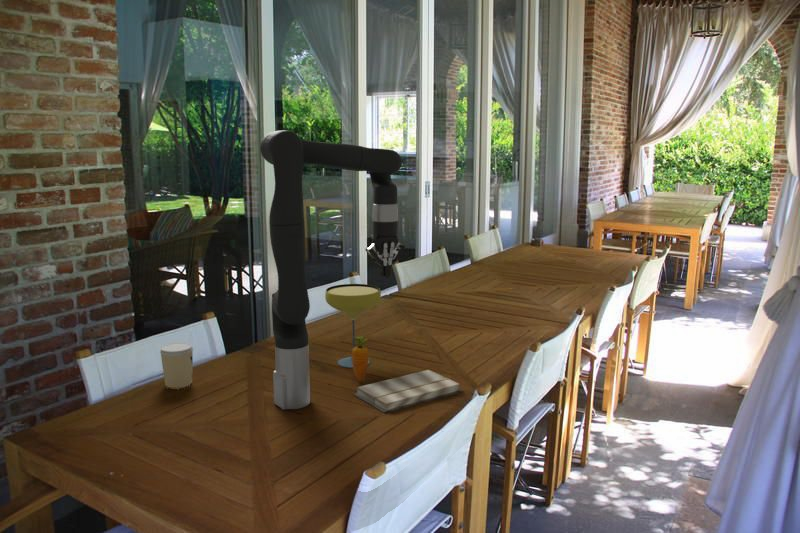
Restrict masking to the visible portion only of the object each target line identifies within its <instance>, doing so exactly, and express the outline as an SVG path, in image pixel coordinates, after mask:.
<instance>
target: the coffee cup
mask: <svg viewBox="0 0 800 533" xmlns="http://www.w3.org/2000/svg"><path fill="white" fill-rule="evenodd" d="M193 351H194V347H193V346H192V344H191V343H188V342H173V343H168V344H165V345H163V346H162V347H161V348H160V350H159V353H160V357H161V358H160V359H161V364H162V365H161V366H162V371H163V372H162V374H163V380H164V385H166V386H168V387H176V388H177V387H185V386H188V385H190V384H191V383H192V384H193V361H194V360H193V357H194V356H193ZM166 386H165V387H166Z"/></svg>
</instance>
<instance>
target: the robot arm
mask: <svg viewBox="0 0 800 533" xmlns="http://www.w3.org/2000/svg"><path fill="white" fill-rule="evenodd" d="M259 145H260V146H259V148H260V149H259V150H260V154H261V156H262V158H263V159H264V160H265V161H266V162H267V163H269V164H271V165H272V166H273V174H274V175H273V176H274V193H273V197H272V200H271V206H270V210H269V218H268V219H269V222H268V223H269V224H268V225H269V236H270V237H269V238H270V246H271V250H272V255H273V258H274V263H275V267H276V272H277V290H276V292H275V293H274V294H273V297H272V299H271V317H272V318H271V319H272V331H273V337H274V350H275V351H274V353H275V354H274V356H275V358H274V359H275V370H273V372H272V374H273V375H272V379H273V403H274V405H276V406H277V407H279V408H280V409H281V410H283V411H284V410H298V409H302V408H305V407H307V406H309V405H310V403H311V391H310V390H311V389H310V388H311V386H310V385H311V384H310V350H309V347H310V346H309V333H308V330H307V322H306V318H308V315H309V313H310V309H311V307H310V306H311V305H310V298H309V293H308V286H307V284H308V283H307V278H306V226H305V213H304V209H305V208H304V197H303V194H304V193H303V169H304V167H303V166H304V165H315V166H322V167H327V168H333V169H340V170H346V171H352V172H353V171H354V172H369V177H370V182H371V186H372V191H373V192H372V202H373V204H372V211H371V212H372V213H371V214H372V215H371V216H372V218H371V219H372V220H371V221H372V222H371V224H372V225H371V226H372V241H371V245H370V246H369V247H365V252H366V253H367V255H368V256H369V257H370V259H371V261H373V263H375V264H377V265H379V275H380V276H381V278H383V279H389V278H390V276H391V274H392V272H391V271H392V269H391V266H392V264H395V263H397V261H398V260H399V259H400V256H401V255H402V253H403V251H404V250H405V248H406V246H405V245H404V244H402V243H401V242H399V238H398V235H399V207H398V188H397V187H398V186H397V185H396V184H395V183H394V182H393V180H392V175H395V174H396V173H398V172H399V171H400V170H401V168H402V164H403V160H402V159H403V158H402V156H401V155H400V154H399V153H398V152H397V151H395V150H393V149H388V148H387V149H386V148H375V147H374V148H372V147H366V146H361V145H355V144H349V143H339V142H321V141H312V140H307V139H302V138H300V136H299V135H298V134H297V133H296V132H294V131H292V130H289V129H287V130H285V129H284V130H273V131H271V132H268V133H267V134H266V135H265V136H264V137H263V138H262V140H261V142H260V144H259Z"/></svg>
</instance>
